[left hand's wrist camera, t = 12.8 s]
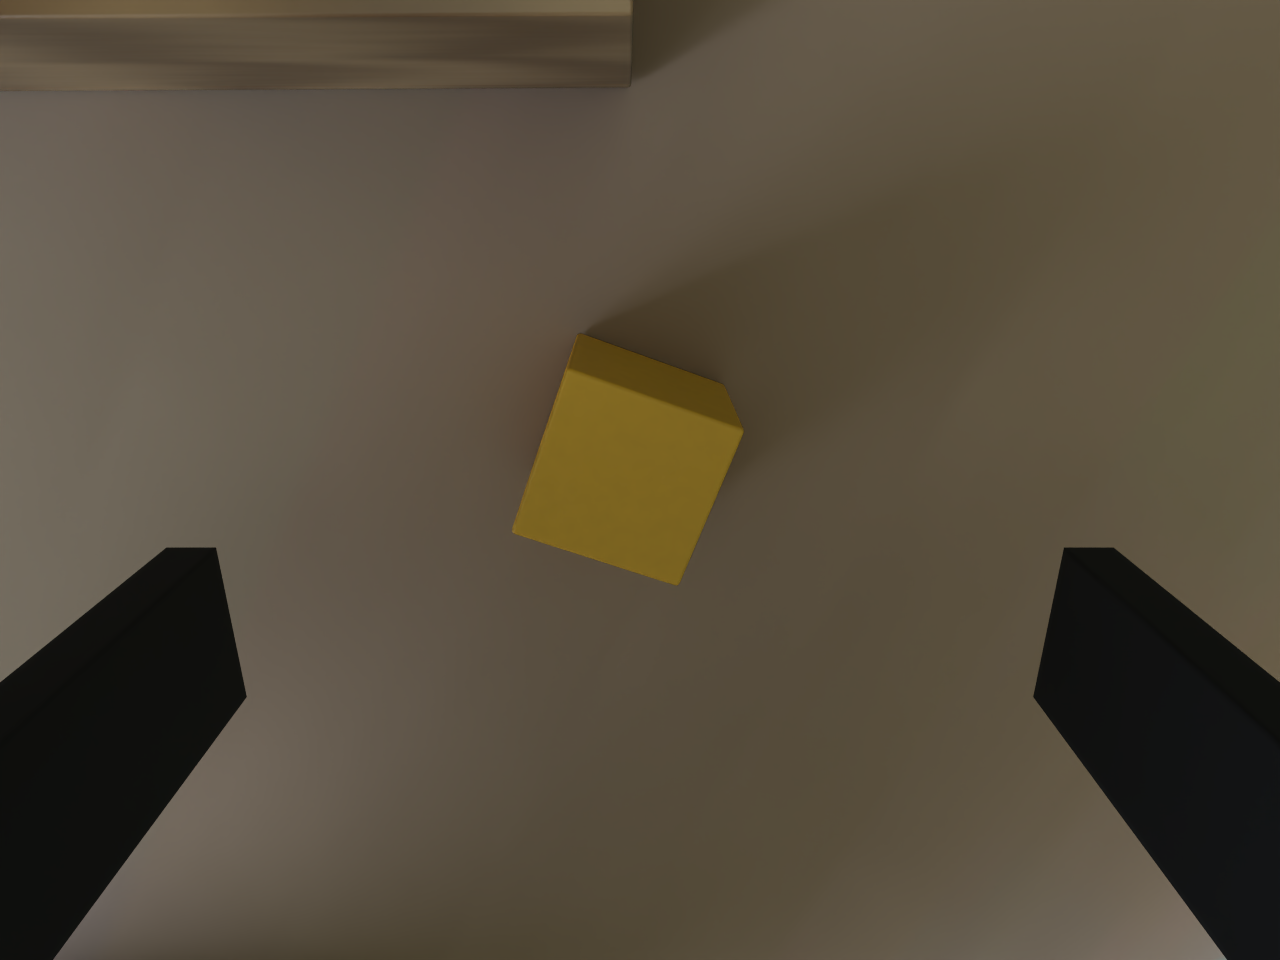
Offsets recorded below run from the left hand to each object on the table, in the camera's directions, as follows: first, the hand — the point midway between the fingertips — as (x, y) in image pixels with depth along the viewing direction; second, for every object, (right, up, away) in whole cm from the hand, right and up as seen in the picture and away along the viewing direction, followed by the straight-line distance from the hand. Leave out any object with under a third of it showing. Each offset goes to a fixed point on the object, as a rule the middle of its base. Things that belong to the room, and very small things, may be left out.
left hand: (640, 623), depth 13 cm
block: (0, +4, +10) cm, 11 cm away
